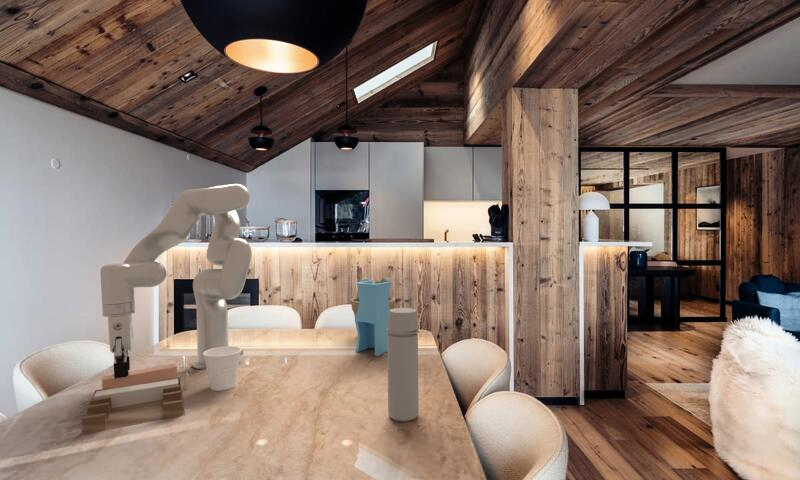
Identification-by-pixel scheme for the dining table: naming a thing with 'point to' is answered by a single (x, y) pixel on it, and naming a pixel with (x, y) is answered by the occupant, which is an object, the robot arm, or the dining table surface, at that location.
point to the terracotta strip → (140, 377)
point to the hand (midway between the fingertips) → (122, 373)
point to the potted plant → (386, 279)
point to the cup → (222, 367)
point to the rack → (132, 411)
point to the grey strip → (136, 393)
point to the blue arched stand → (372, 316)
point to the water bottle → (402, 364)
